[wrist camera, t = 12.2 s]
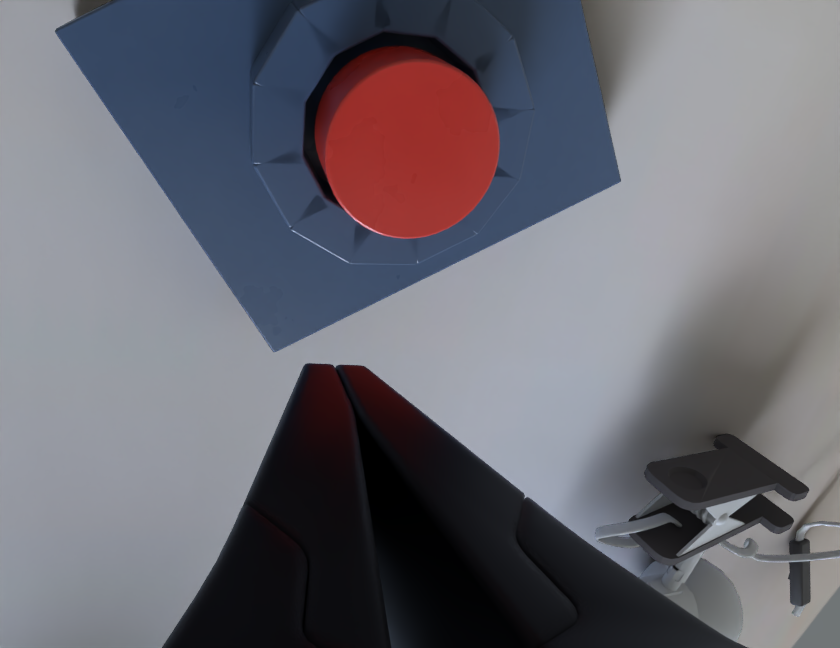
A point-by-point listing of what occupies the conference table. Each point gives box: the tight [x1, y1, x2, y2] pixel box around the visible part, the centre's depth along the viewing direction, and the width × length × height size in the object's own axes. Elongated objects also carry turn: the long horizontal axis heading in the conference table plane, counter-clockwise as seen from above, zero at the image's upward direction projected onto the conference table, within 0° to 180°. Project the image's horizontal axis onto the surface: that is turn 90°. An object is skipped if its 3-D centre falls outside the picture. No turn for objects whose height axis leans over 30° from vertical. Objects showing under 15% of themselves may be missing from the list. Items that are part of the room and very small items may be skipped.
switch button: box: [315, 45, 500, 239], centre depth 15 cm, size 4×4×2 cm
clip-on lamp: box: [595, 434, 840, 642], centre depth 32 cm, size 12×6×18 cm
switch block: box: [55, 0, 621, 352], centre depth 17 cm, size 12×10×4 cm
